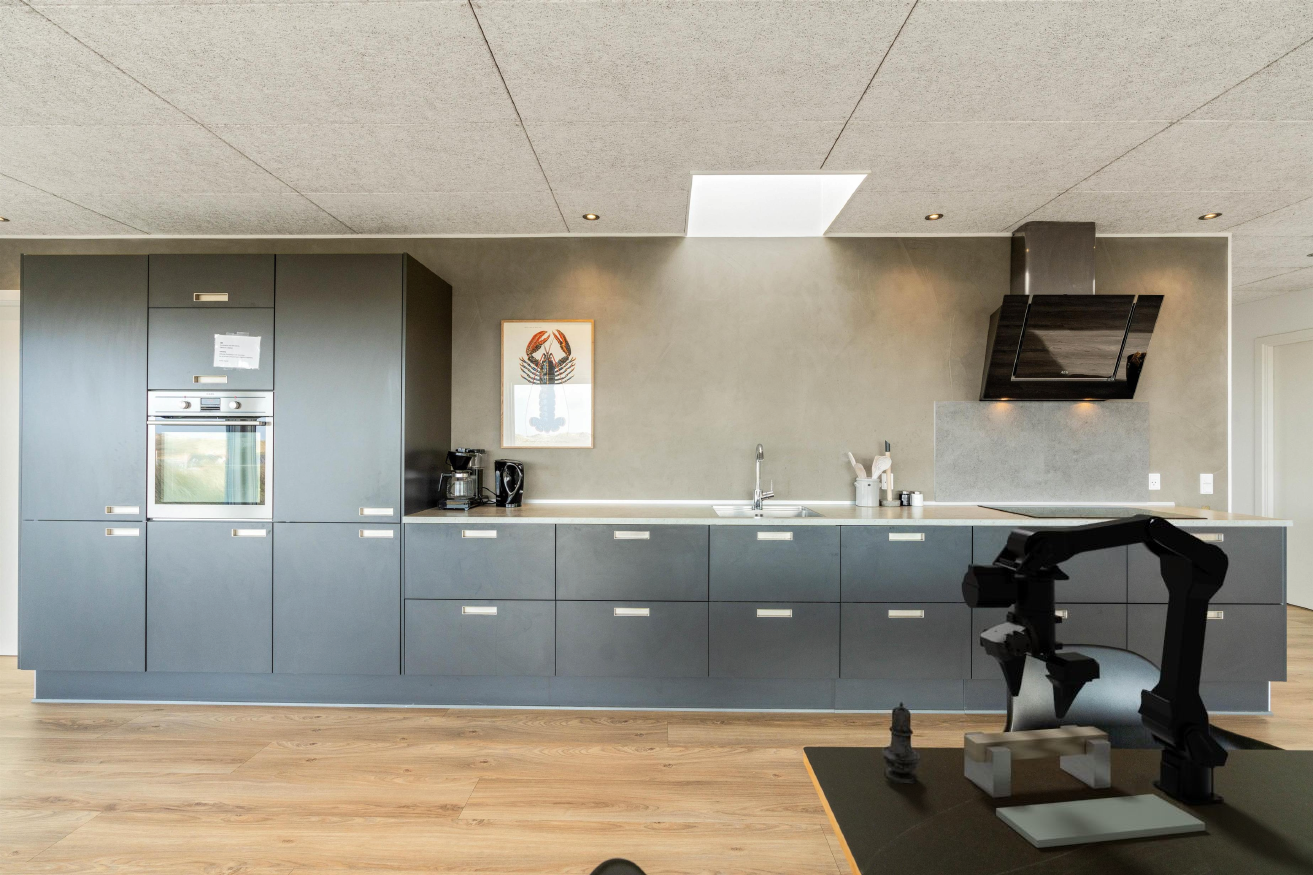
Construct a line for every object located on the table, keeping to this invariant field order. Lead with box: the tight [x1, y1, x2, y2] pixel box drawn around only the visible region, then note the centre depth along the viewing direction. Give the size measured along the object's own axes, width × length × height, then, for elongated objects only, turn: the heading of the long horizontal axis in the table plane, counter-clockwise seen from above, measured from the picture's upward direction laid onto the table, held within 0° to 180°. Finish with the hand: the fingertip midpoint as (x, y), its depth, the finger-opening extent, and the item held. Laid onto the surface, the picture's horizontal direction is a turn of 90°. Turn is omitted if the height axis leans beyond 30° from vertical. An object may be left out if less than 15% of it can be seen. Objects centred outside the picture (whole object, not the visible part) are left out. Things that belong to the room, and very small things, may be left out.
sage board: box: [995, 793, 1206, 849], centre depth 94 cm, size 27×8×1 cm, turn 100°
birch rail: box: [963, 726, 1109, 763], centre depth 106 cm, size 24×3×3 cm, turn 100°
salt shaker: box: [881, 701, 921, 784], centre depth 107 cm, size 6×6×12 cm
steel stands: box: [964, 724, 1112, 798], centre depth 106 cm, size 21×7×7 cm, turn 100°
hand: (1036, 706), depth 104 cm, fingers open, 9 cm apart
